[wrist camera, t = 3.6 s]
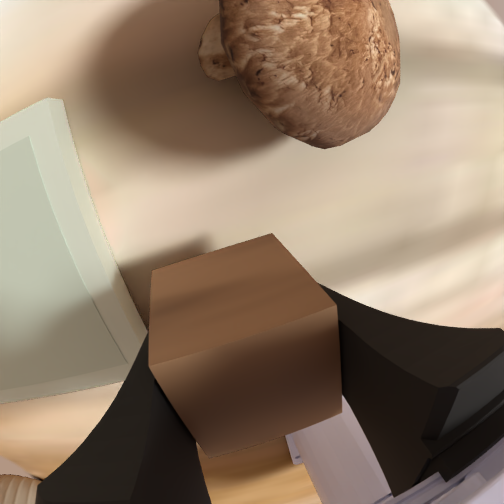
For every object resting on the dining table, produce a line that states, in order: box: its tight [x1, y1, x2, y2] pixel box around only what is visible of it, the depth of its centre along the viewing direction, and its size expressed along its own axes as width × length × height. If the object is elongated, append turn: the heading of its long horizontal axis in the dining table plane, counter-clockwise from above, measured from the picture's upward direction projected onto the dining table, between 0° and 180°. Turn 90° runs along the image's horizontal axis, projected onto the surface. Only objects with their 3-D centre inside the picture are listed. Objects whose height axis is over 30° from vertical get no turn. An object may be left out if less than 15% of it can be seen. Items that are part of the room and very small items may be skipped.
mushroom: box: [198, 0, 400, 149], centre depth 9 cm, size 8×8×6 cm
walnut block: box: [149, 233, 342, 458], centre depth 10 cm, size 4×4×5 cm
